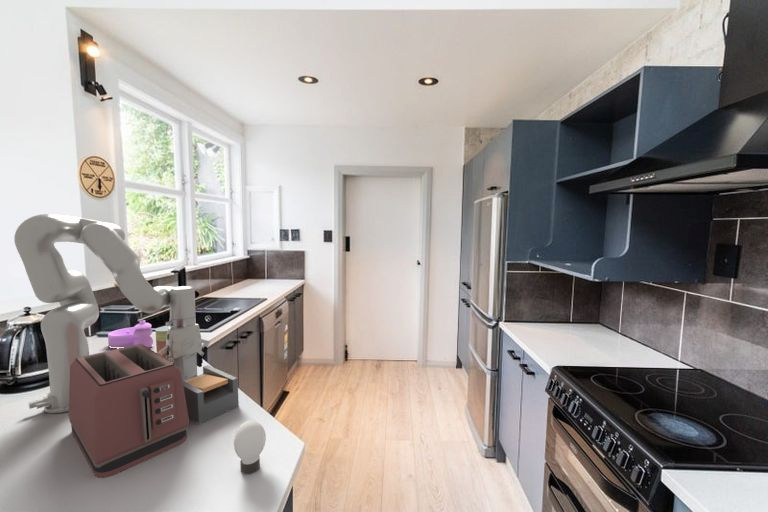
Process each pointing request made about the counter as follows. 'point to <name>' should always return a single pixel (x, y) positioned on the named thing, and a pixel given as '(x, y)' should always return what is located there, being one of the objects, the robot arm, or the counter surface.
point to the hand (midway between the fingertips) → (184, 370)
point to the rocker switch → (206, 382)
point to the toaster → (126, 407)
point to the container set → (131, 336)
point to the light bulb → (249, 445)
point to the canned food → (161, 338)
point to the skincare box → (187, 366)
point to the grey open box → (211, 397)
